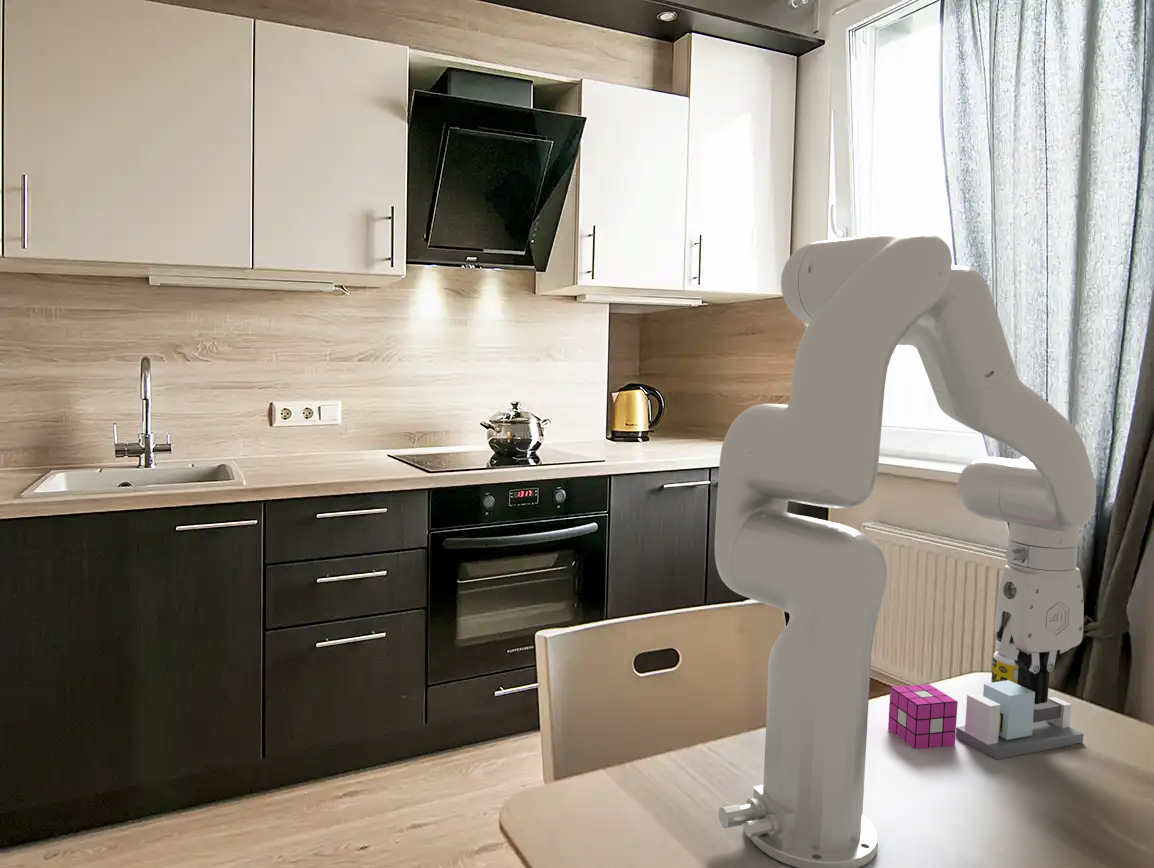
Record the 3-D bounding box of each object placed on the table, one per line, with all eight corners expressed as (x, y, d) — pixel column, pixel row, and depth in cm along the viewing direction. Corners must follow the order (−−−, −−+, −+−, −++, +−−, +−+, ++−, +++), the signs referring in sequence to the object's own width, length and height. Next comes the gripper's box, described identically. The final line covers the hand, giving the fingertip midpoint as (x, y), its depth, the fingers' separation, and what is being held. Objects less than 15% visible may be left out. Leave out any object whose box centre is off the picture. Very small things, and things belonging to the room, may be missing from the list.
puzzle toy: (955, 745, 106) (958, 701, 105) (914, 750, 105) (917, 705, 104) (926, 726, 112) (929, 683, 111) (887, 729, 110) (889, 686, 110)
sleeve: (1007, 739, 104) (1010, 696, 104) (981, 726, 108) (983, 683, 108) (1031, 735, 106) (1035, 692, 105) (1005, 721, 109) (1008, 680, 109)
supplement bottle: (983, 693, 122) (987, 636, 122) (1014, 693, 123) (1018, 635, 122) (1003, 707, 118) (1007, 648, 117) (1035, 706, 118) (1040, 647, 117)
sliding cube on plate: (996, 759, 102) (999, 710, 102) (955, 736, 108) (958, 690, 108) (1082, 742, 107) (1086, 696, 107) (1039, 721, 113) (1042, 677, 113)
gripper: (1020, 568, 100) (1010, 720, 102) (1113, 558, 105) (1102, 703, 107) (970, 553, 107) (962, 695, 109) (1060, 545, 112) (1050, 681, 114)
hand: (1031, 699), depth 108 cm, fingers closed
